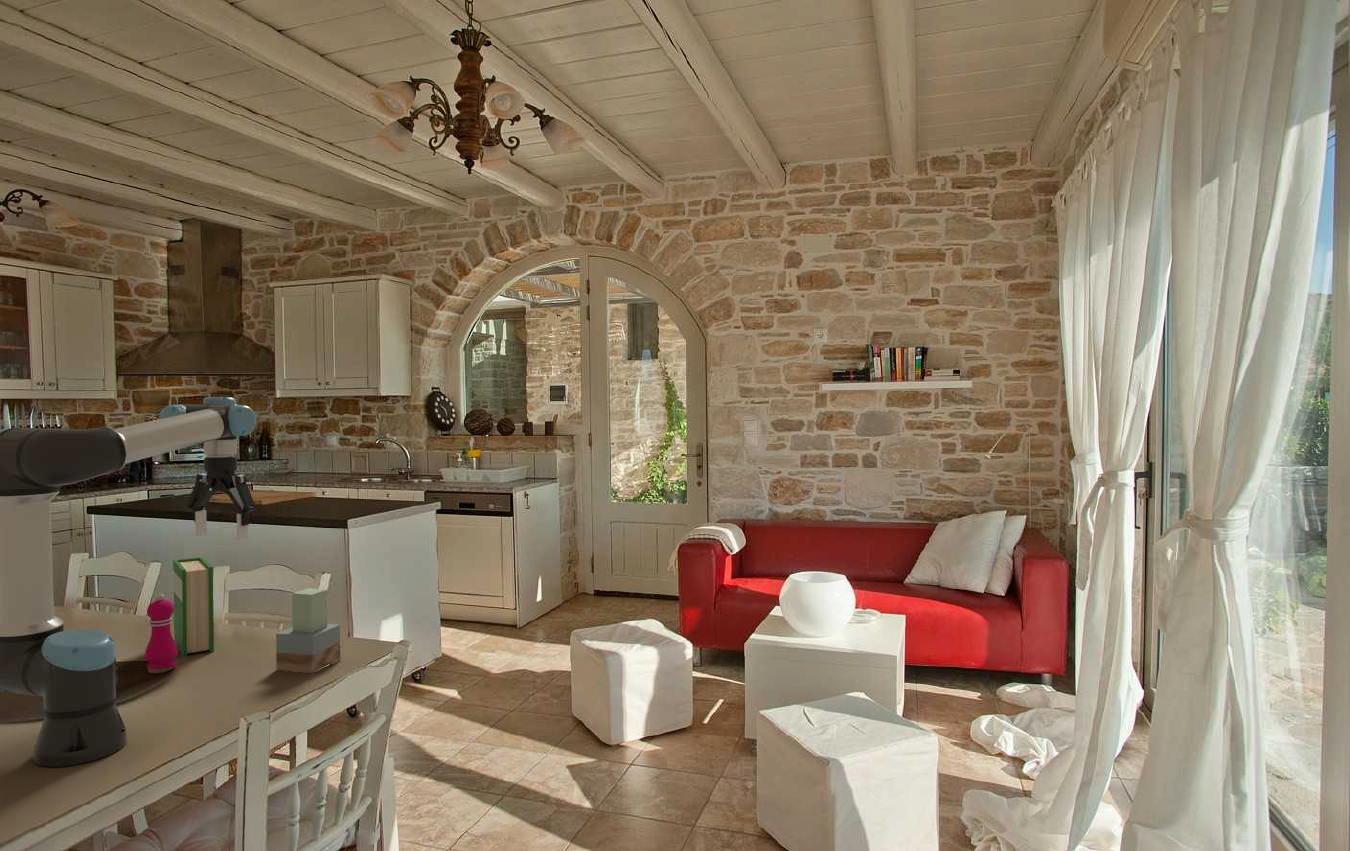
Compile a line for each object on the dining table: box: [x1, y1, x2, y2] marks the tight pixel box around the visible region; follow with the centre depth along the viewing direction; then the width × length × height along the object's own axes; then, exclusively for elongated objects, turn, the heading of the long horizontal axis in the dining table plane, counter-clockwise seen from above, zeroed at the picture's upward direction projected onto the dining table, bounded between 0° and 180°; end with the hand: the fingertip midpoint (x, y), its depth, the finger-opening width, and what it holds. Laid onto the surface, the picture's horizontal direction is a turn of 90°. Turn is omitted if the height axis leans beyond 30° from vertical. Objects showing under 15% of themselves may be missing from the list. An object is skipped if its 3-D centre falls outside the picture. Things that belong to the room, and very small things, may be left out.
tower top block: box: [275, 623, 341, 656], centre depth 213 cm, size 11×11×5 cm
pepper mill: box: [144, 593, 179, 669], centre depth 208 cm, size 7×7×20 cm
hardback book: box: [172, 556, 215, 658], centre depth 228 cm, size 18×7×24 cm, turn 39°
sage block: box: [291, 587, 328, 633], centre depth 213 cm, size 6×6×10 cm
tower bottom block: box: [275, 643, 341, 674], centre depth 213 cm, size 11×11×5 cm
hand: (221, 536), depth 209 cm, fingers open, 13 cm apart
